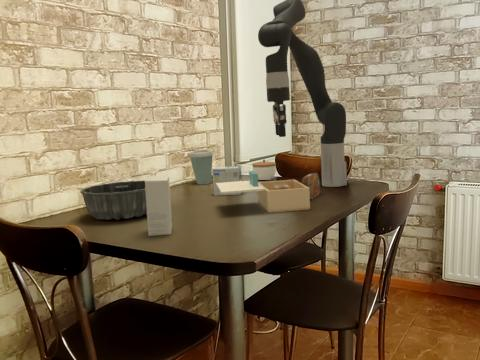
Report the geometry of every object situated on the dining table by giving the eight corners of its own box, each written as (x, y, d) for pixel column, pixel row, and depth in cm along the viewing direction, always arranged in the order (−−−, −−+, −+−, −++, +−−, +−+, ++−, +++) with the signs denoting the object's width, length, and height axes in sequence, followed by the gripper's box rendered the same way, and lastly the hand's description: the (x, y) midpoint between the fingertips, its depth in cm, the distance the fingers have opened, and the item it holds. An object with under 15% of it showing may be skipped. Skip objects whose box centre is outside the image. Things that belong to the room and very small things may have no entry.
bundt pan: (81, 213, 171) (78, 185, 170) (155, 203, 180) (153, 177, 179) (85, 229, 147) (82, 196, 145) (171, 217, 156) (169, 186, 154)
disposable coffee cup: (214, 184, 217) (211, 151, 215) (189, 185, 217) (187, 152, 215) (215, 181, 227) (213, 149, 225) (192, 182, 228) (190, 150, 225)
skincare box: (151, 229, 142) (146, 176, 139) (173, 227, 142) (169, 174, 140) (148, 236, 133) (143, 180, 131) (172, 234, 134) (167, 178, 132)
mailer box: (295, 198, 174) (294, 179, 173) (310, 209, 156) (309, 187, 154) (257, 201, 172) (256, 182, 171) (268, 213, 154) (267, 191, 153)
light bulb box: (242, 191, 195) (241, 165, 193) (240, 195, 188) (239, 167, 186) (216, 192, 196) (214, 166, 194) (213, 196, 189) (211, 168, 188)
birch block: (287, 201, 166) (286, 184, 166) (290, 204, 162) (289, 186, 161) (274, 203, 166) (273, 185, 165) (277, 205, 161) (276, 187, 161)
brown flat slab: (309, 201, 169) (308, 177, 167) (300, 201, 170) (299, 177, 169) (321, 193, 182) (320, 171, 181) (313, 193, 183) (312, 171, 182)
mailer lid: (254, 181, 171) (253, 168, 171) (264, 190, 153) (263, 176, 152) (216, 184, 169) (215, 171, 169) (221, 193, 151) (220, 179, 150)
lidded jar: (251, 182, 218) (250, 161, 216) (254, 178, 228) (253, 158, 227) (275, 181, 216) (274, 160, 214) (277, 177, 226) (276, 157, 225)
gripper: (264, 88, 167) (267, 135, 170) (268, 86, 153) (271, 138, 156) (286, 86, 168) (288, 133, 170) (292, 85, 154) (295, 136, 156)
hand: (280, 135), depth 163 cm, fingers open, 8 cm apart
